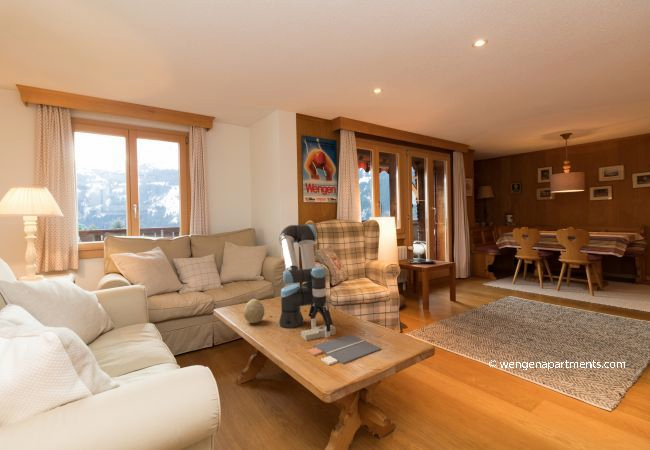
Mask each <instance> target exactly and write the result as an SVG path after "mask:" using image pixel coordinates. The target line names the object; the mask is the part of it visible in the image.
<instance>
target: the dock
mask: <svg viewBox="0 0 650 450" xmlns="http://www.w3.org/2000/svg"><path fill="white" fill-rule="evenodd" d="M381 350H382V347H379V346H378V345H375V344H373V343H372V342H368V341H366V339H361V338H360V337H357V336H356V335H353V334H351V333H348V334H346V335H342V336H339V337H336V338H333V339H330V340H326V341H324V342H320V343H317V344H314V345H313V348H309V349H307V353H308V354H310V355H312V356H313V357H315V356H319V355H321V354H325V355H327V356H325V357H322V358H320V359H321V361H322V362H323V363H325V365H328V366H331V365H334V364H336V363H340V364H342V365H344V364H348V363H349V362H352V361H355V360H357V359H360V358H362V357H365V356H369V355H371V354H373V353H376V352H378V351H381Z"/></svg>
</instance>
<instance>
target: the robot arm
mask: <svg viewBox="0 0 650 450" xmlns="http://www.w3.org/2000/svg"><path fill="white" fill-rule="evenodd" d="M278 239H279V245H280V246H281V248H282V254H283V260H284V268H285V270H283V272H282V279H283V284H287V285H286V286H284V287H282V288H281V290H280V304H281V305H280V307H281V313H280V317H279V321H278V326H279V325H280V327H281V328H285V329H293V328H298V327H301V326H302V325H304V324H305V322H304V321H305V319H304V317H303V316H304V315H303V314H302V312H301V311H302V310H301V307H306V306H310V307H309V308H310V309H309V313H308V318H310V323H311V329H313V328H314V327H317V318H316V317H317V314H318V313H319V314H320V316H321V317H322V319H323V321H324V325H325V337H324V338H330V337H331V335H330V325H332V326H333V321H332V317H331V313H330V308H329V305H326V303H327V287H326V286H327V284H326V282H327V281H326V275H327V274H326V268H325V267H323V266H316V257H315V251H314V245H315V243H316V241H317V231H316V228H315V226H314V225H313V224H290V225H288V226H286V227H284V228H283V230H281V232H280V235H279V238H278ZM295 243H297V246H298V247H299V248H300V256H301V265H302V267H301V268H302V269H300V268H299V263H298V260H297V255H296V250H295V245H294V244H295ZM299 283H300V284H301V283H302V284H301V286H300V285H299ZM289 284H290V285H289Z"/></svg>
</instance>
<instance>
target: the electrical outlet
mask: <svg viewBox="0 0 650 450" xmlns="http://www.w3.org/2000/svg"><path fill="white" fill-rule="evenodd" d="M325 325H326V324H322V325H319V326H317V325H316V327H314V328H313V329H312V328H311V329H306V330H301V331H300V334H301V335H300V337H302V338H303V339H304V341H311V340H316V339H319V338H326V337H325ZM336 334H337V331H336V326H334V325H333V324H332V325H330V336H334V335H336Z"/></svg>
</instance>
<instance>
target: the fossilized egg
mask: <svg viewBox="0 0 650 450" xmlns="http://www.w3.org/2000/svg"><path fill="white" fill-rule="evenodd" d="M264 316H265V307H264V305H263V303H262V302H261V301H259V300H258V299H256V298H253V299H250V300H249V301H248V302H247V303H246V304H245V306H244V307H243V317H244V320H246V321H247V322H248V323H250V324H257V323H260V322H261V321H262V320H263V318H264Z"/></svg>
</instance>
